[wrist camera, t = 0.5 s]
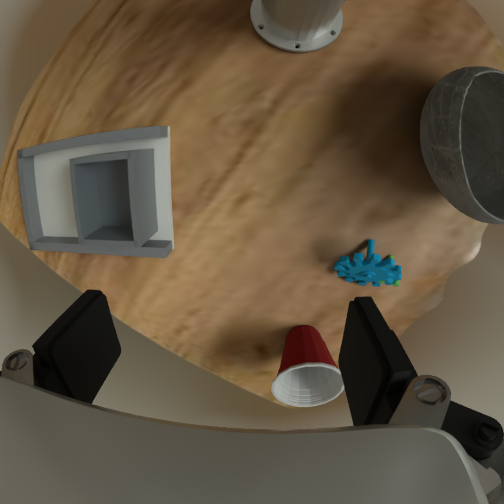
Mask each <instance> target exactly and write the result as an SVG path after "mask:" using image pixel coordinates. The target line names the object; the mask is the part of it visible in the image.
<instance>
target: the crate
mask: <svg viewBox="0 0 504 504" xmlns="http://www.w3.org/2000/svg"><path fill="white" fill-rule="evenodd" d="M69 161H70V176H71V187H72V197H73V205H74V213H75V220H76V227H77V233H78V239H79V245H97V246H119V247H141V246H142V245H143V244H144V243H145V242H147V241H148V240H149V239H150V238H151V237H152V236H153V235H154V234H155V233H156V232H157V231H158V222H157V208H156V191H155V167H154V149H140V150H128V151H117V152H108V153H99V154H93V155H87V156H82V157H77V158H72V159H69Z"/></svg>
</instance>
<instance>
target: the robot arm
mask: <svg viewBox="0 0 504 504" xmlns="http://www.w3.org/2000/svg"><path fill="white" fill-rule="evenodd" d="M345 1H346V0H253V1H252V4H251V8H250V16H251V21H252V24H253V26H254V29H255V30H256V32H257V33H258V34H259V36H260V37H262V38H263V39H264V40H265V41H266V42H268V43H269V44H271V45H272V46H275V47H277V48H279V49H282V50H285V51H289V52H297V53H308V52H313V51H317V50H320V49H323V48H325V47H326V46H328V45H330V44H331V43H332V42H333V41H334V40H335V39H336V38H337V37H338V35H339V33H340V31H341V29H342V25H343V15H342V11H341V7H342V6H343V4H344V2H345ZM260 28H263V29H260ZM330 33H332V34H333V35H331V34H330ZM295 46H298V47H299V48H298V49H297V48H295ZM32 347H33V349H34V351H35V354H34V355H32V353H31V352H30V351H29V350H26V349H20V350H16V351H14V352H12V353H10V354H9V355H8V356H7V357H6V358H5V359H4V361H3V364H2V371H0V504H504V439H503V438H504V432H503V428H502V426H501V425H500V423H499V422H497V420H495V419H494V418H492V417H489V416H487V415H485V414H482V413H480V412H477V411H475V410H472V409H470V408H467V407H465V406H463V405H460V404H458V403H455V402H453V401H451V400H450V399H451V391H450V388H449V386H448V385H447V383H446V382H444V381H443V380H442V379H440V378H438V377H436V376H432V375H421V376H418V375H417V373H416V371H415V369H414V367H413V365H412V364H411V362H410V360H409V358H408V356H407V354H406V352H405V350H404V349H403V347H402V345H401V343H400V342H399V340H398V338H397V336H396V334H395V333H394V331H393V330H390V329H389V327H388V325H387V323H386V321H385V320H384V318H383V316H382V315H381V313H380V311H379V309H378V308H377V306H376V304H375V303H374V301H373V299H372V298H371V297H355V299H354V301H350V303H349V307H348V313H347V318H346V324H345V329H344V334H343V339H342V344H341V349H340V354H339V360H338V362H339V368H340V372H341V376H342V380H343V384H344V388H345V391H346V396H347V399H348V403H349V408H350V412H351V416H352V420H353V425H354V426H347V427H336V428H318V429H243V428H227V427H215V426H204V425H195V424H187V423H180V422H173V421H166V420H161V419H155V418H148V417H144V416H139V415H133V414H129V413H125V412H120V411H116V410H112V409H108V408H104V407H100V406H97V405H93V404H92V402H93V400H94V398H95V397H96V395H97V393H98V391H99V390H100V388H101V386H102V385H103V383H104V381H105V379H106V378H107V376H108V374H109V373H110V371H111V369H112V368H113V366H114V364H115V363H116V361H117V359H118V357H119V356H120V354H121V347H120V343H119V340H118V337H117V334H116V330H115V327H114V324H113V320H112V317H111V313H110V309H109V306H108V302H107V298H106V296H105V295H104V294H103V293H102V291H100V290H87V291H85V292H84V293H83V294H82V295H81V296H80V297H79V298H78V299H77V300H76V301H75V302H74V303H73V304H72V305H71V306H70V307H69V308H68V309H67V310H66V311H65V312H64V313H63V314H62V315H61V316H60V317H59V318H58V319H57V320H56V321H55V322H54V323H53V324H52V325H51V326H50V327H49V328H48V329H47V330H46V331H45V332H44V333H43V335H42V336H41V337H40V338H39V339H38V340H37V341H36V342H35V343H34V344H33V345H32Z"/></svg>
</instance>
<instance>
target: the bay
mask: <svg viewBox="0 0 504 504" xmlns="http://www.w3.org/2000/svg"><path fill="white" fill-rule="evenodd" d="M140 149H154V167H155V191H156V208H157V222H158V231H157V232H156V233H155V234H154V235H153V236H152V237H151V238H150V239H149V240H148V241H147V242H145V243H144V244H143V245H142V246H141V247H119V246H97V245H79V239H78V233H77V227H76V220H75V213H74V205H73V197H72V187H71V176H70V161H69V159H72V158H77V157H82V156H87V155H93V154H99V153H108V152H117V151H128V150H140ZM17 158H18V172H19V183H20V192H21V200H22V207H23V213H24V219H25V225H26V230H27V235H28V240H29V245H30V249H31V250H43V251H58V252H73V253H89V254H105V255H122V256H139V257H157V258H166V257H167V256H168V255H169V254H170V252H171V251H172V250H173V249H174V235H173V219H172V200H171V173H170V126H153V127H142V128H133V129H125V130H117V131H109V132H103V133H96V134H90V135H84V136H79V137H73V138H68V139H63V140H59V141H54V142H49V143H45V144H41V145H37V146H33V147H29V148H25V149H21V150H17Z"/></svg>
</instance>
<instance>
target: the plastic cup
mask: <svg viewBox="0 0 504 504" xmlns="http://www.w3.org/2000/svg"><path fill="white" fill-rule="evenodd" d="M343 389H344V384H343V380H342V376H341V372H340V370H339V369H338V367H337V366H336V364H335V362H334V361H333V359H332V357H331V355H330V353H329V350H328V348H327V346H326V344H325V342H324V341H323V339H322V337H321V335H320V333H319V332H318V331H317V330H316V329H315V328H314V327H312V326H309V325H301V326H298V327H295V328H294V329H292V330H291V331H290V332H289V334H288V335H287V338H286V343H285V347H284V350H283V355H282V360H281V365H280V369H279V371H278V374H277V377H276V378H275V379H274V381H273V383H272V393H273V395H274V396H275V398H276V399H277V400H279V401H281V402H283V403H284V404H287V405H291V406H296V407H312V406H316V405H320V404H324V403H326V402H328V401H330V400H332V399H334V398H336V397H337V396H338V395H339V394H340V393H341V392H342V391H343Z"/></svg>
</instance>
